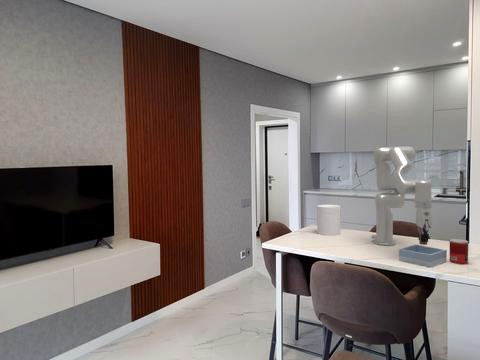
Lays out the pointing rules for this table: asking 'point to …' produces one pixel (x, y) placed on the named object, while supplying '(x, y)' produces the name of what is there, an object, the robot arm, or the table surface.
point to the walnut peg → (420, 237)
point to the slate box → (422, 255)
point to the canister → (328, 220)
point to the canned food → (458, 251)
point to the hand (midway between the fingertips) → (423, 240)
